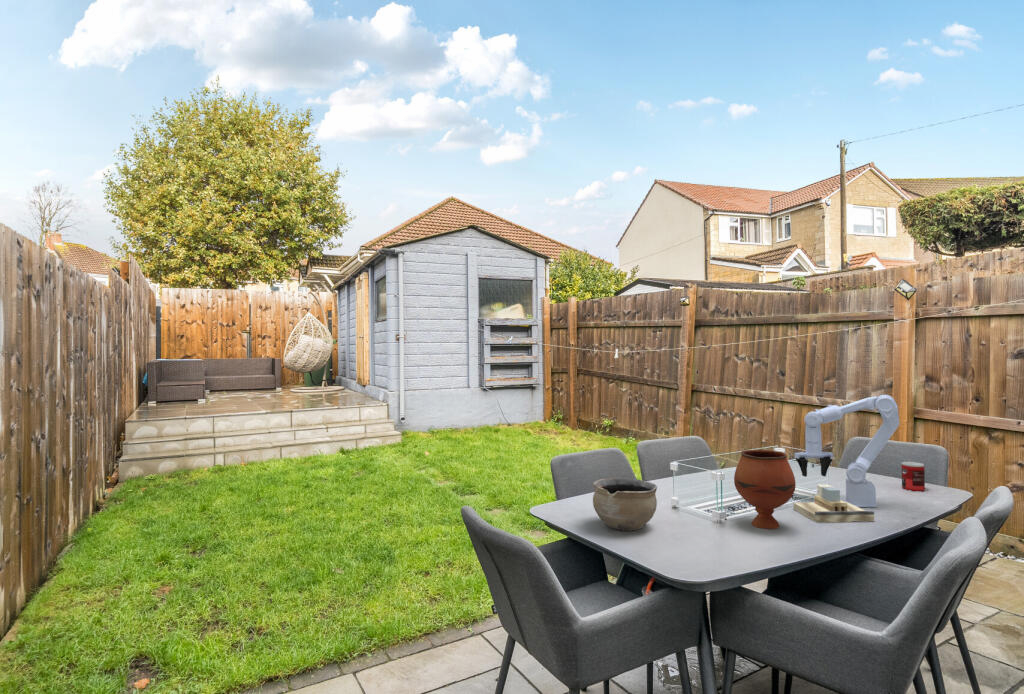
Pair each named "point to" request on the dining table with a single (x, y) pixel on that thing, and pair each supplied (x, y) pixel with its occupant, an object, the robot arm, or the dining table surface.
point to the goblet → (764, 483)
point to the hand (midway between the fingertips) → (814, 475)
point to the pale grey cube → (831, 494)
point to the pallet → (830, 504)
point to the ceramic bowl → (624, 502)
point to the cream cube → (821, 489)
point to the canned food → (913, 476)
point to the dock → (833, 513)
